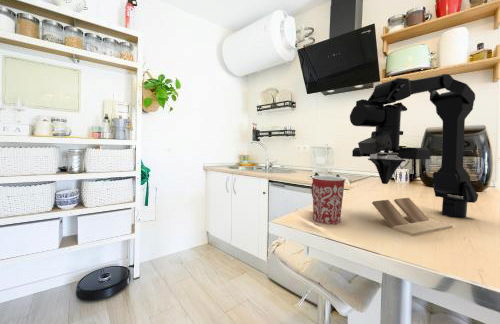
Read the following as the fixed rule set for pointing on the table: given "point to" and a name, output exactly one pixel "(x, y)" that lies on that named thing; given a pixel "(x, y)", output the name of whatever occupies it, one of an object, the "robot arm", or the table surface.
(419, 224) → the underlay base
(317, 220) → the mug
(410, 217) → the plank
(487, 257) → the table surface
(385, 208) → the plank
